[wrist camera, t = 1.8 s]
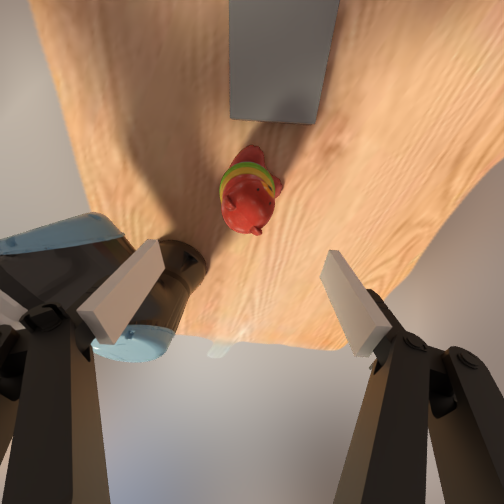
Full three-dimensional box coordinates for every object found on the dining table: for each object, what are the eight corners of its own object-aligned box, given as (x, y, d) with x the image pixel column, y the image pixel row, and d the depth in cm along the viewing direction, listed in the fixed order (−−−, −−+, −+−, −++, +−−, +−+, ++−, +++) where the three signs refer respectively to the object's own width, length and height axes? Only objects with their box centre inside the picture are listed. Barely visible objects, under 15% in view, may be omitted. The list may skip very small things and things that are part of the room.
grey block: (232, 119, 31) (229, 118, 28) (232, -15, 24) (228, -40, 20) (308, 124, 31) (314, 123, 28) (333, -7, 24) (345, -30, 20)
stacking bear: (285, 189, 37) (305, 228, 23) (245, 216, 41) (240, 265, 26) (255, 139, 33) (255, 145, 18) (213, 174, 36) (183, 203, 21)
